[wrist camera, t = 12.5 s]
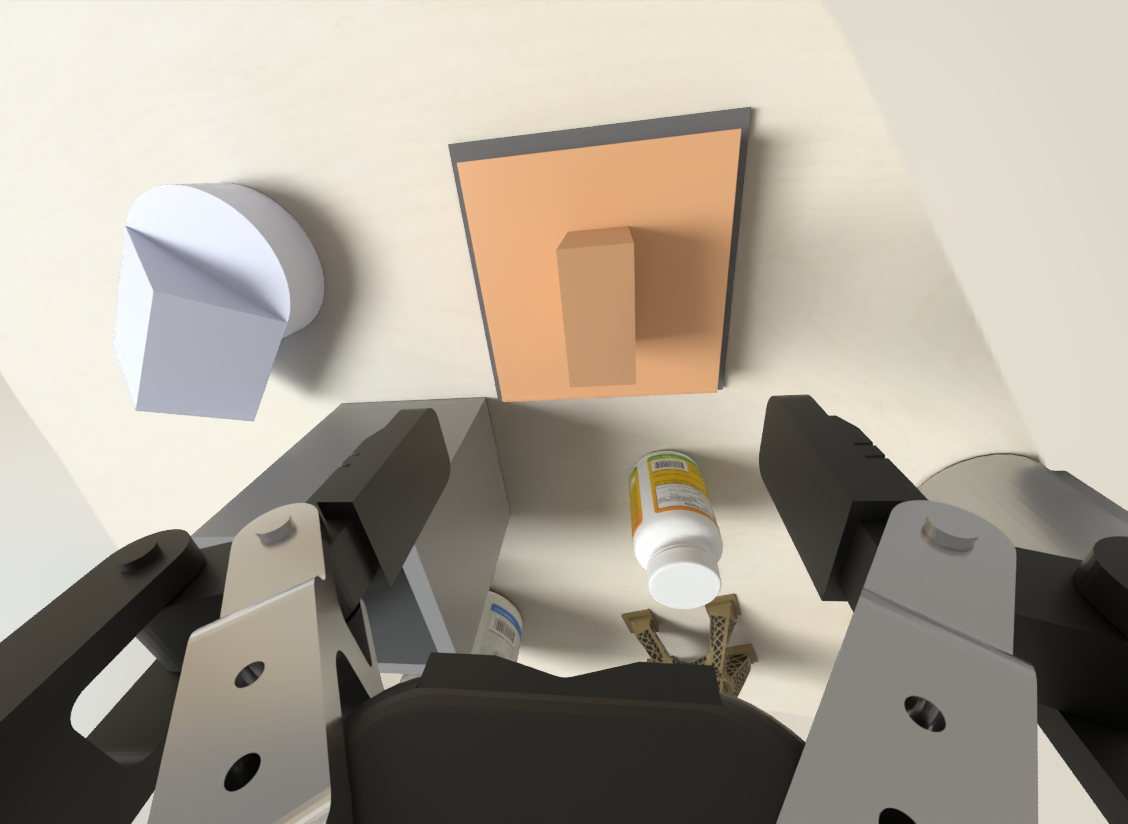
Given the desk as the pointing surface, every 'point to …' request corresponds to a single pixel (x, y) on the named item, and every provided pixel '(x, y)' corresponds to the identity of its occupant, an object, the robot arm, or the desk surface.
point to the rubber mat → (605, 137)
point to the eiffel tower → (721, 629)
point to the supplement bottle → (675, 530)
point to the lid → (605, 265)
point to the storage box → (444, 547)
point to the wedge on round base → (210, 297)
